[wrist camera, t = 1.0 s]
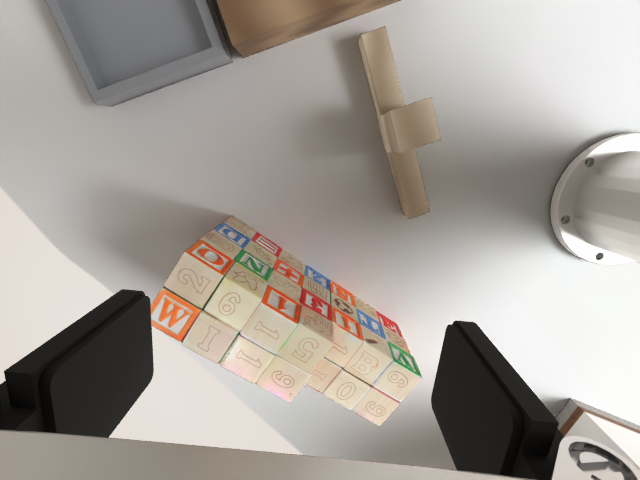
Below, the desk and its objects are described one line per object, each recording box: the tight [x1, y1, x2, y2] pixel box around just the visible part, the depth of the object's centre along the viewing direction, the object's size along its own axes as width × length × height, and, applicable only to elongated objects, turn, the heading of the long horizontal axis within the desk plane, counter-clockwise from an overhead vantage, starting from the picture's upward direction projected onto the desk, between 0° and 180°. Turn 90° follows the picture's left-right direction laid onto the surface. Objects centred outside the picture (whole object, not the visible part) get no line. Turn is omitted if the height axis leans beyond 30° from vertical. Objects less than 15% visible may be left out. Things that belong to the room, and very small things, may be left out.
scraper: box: [358, 26, 441, 219], centre depth 28 cm, size 3×16×8 cm, turn 18°
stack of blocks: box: [151, 216, 422, 426], centre depth 30 cm, size 21×6×12 cm, turn 56°
